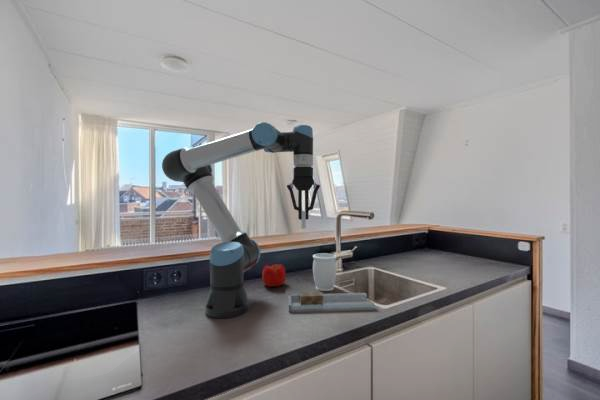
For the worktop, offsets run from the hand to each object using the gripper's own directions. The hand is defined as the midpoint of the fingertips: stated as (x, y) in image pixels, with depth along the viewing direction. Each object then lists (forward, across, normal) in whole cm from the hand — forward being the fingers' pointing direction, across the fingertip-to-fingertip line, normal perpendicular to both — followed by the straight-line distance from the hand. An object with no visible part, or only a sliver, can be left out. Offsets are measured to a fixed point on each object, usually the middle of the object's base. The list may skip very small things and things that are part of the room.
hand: (303, 228), depth 107 cm
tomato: (+29, -12, +20) cm, 37 cm away
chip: (+27, 0, -7) cm, 28 cm away
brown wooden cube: (+27, +4, -6) cm, 28 cm away
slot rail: (+28, +9, -6) cm, 30 cm away
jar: (+29, +10, +12) cm, 33 cm away
